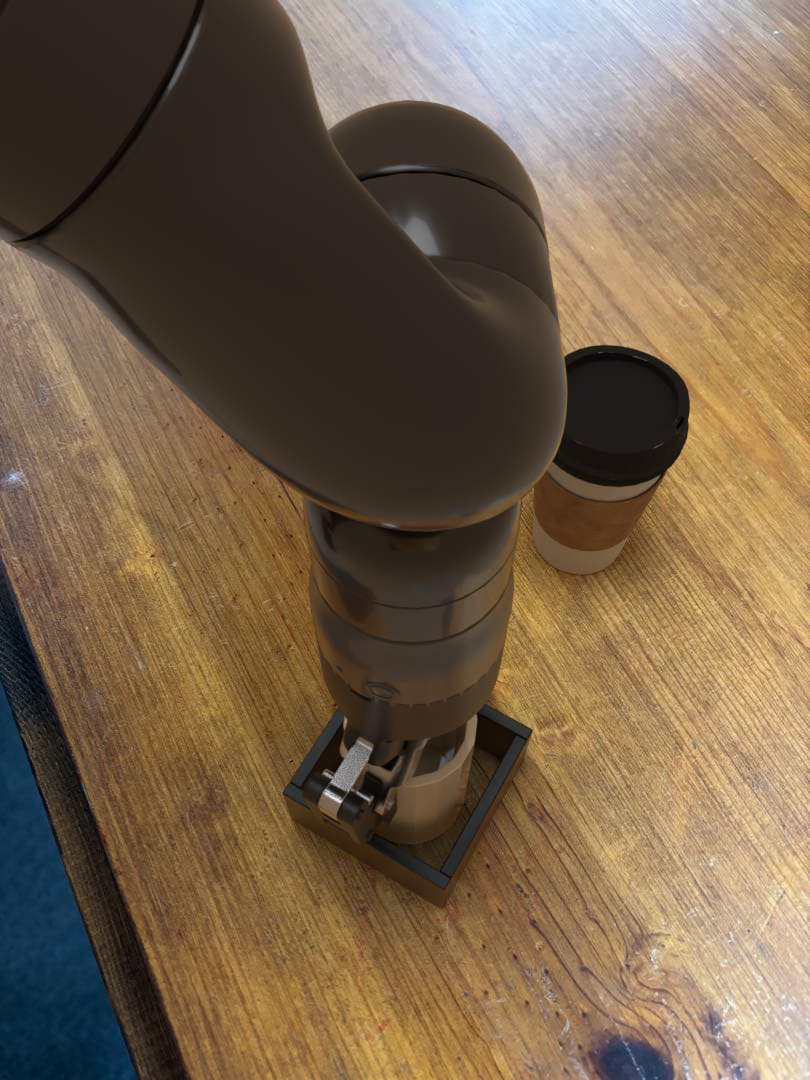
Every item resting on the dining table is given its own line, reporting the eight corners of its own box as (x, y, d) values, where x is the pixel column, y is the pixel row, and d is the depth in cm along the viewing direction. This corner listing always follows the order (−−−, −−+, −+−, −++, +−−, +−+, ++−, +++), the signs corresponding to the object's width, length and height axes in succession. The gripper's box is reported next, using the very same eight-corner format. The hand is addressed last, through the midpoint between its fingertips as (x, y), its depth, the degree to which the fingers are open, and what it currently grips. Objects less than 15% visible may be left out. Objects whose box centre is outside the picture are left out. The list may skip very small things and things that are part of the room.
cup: (429, 866, 59) (435, 811, 49) (332, 808, 60) (318, 743, 51) (484, 769, 61) (499, 699, 52) (390, 716, 63) (387, 638, 54)
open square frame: (441, 909, 58) (444, 890, 53) (290, 818, 60) (281, 792, 56) (524, 758, 62) (533, 729, 57) (380, 679, 64) (378, 645, 60)
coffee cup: (607, 615, 66) (656, 485, 53) (489, 553, 69) (509, 414, 56) (663, 517, 70) (723, 373, 57) (549, 461, 72) (582, 310, 59)
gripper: (420, 435, 45) (416, 610, 59) (221, 716, 39) (272, 834, 53) (581, 513, 43) (537, 673, 57) (400, 820, 37) (401, 913, 51)
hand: (409, 750), depth 55 cm, fingers closed on cup, 6 cm apart
